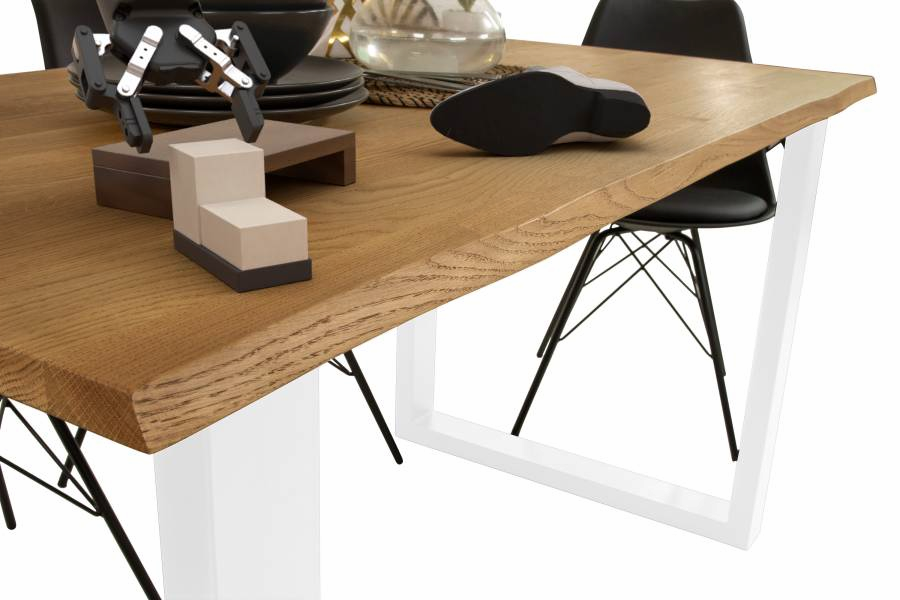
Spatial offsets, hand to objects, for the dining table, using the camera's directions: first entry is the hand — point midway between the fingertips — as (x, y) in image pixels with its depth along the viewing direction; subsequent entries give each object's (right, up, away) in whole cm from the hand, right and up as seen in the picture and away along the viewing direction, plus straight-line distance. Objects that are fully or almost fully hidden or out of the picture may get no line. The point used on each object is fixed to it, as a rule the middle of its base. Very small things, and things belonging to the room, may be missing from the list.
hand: (202, 142), depth 76 cm
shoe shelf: (-1, -2, +18) cm, 18 cm away
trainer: (+3, -9, -2) cm, 10 cm away
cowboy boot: (+27, +8, +48) cm, 56 cm away
